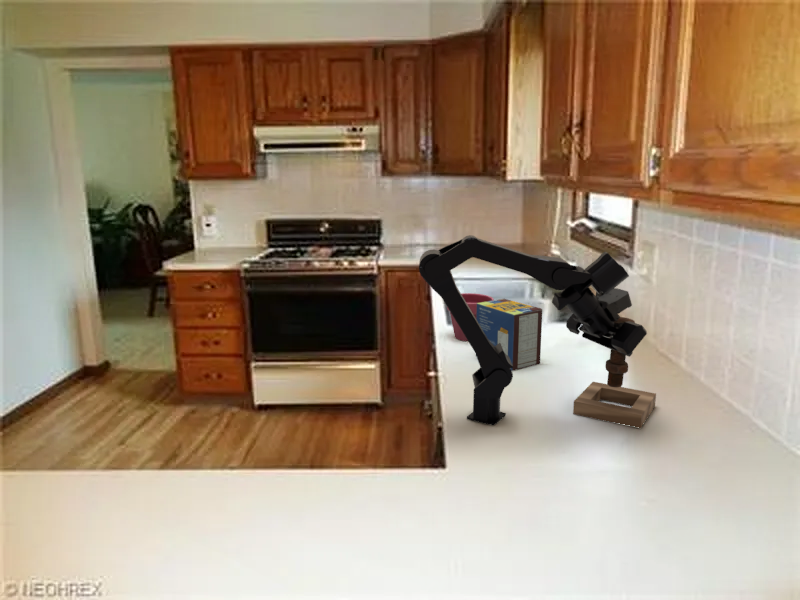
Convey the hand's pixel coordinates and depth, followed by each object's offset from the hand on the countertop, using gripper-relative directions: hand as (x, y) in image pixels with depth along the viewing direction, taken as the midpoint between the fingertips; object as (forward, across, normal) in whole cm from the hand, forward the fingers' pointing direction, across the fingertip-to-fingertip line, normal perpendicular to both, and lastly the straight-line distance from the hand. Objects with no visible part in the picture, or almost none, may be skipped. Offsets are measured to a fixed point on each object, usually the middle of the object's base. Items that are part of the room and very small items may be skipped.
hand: (623, 351), depth 131 cm
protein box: (+7, +39, +12) cm, 41 cm away
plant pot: (+8, +62, +12) cm, 63 cm away
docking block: (+9, 0, +10) cm, 13 cm away
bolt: (+5, 0, +6) cm, 8 cm away
